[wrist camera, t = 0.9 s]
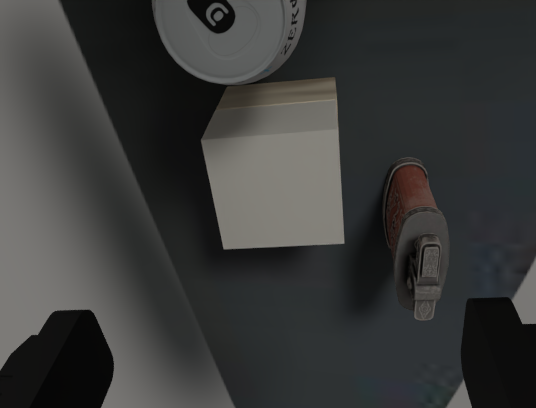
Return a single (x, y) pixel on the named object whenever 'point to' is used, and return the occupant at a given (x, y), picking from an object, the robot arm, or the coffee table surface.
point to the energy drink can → (229, 36)
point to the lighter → (415, 237)
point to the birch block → (279, 93)
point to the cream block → (276, 175)
